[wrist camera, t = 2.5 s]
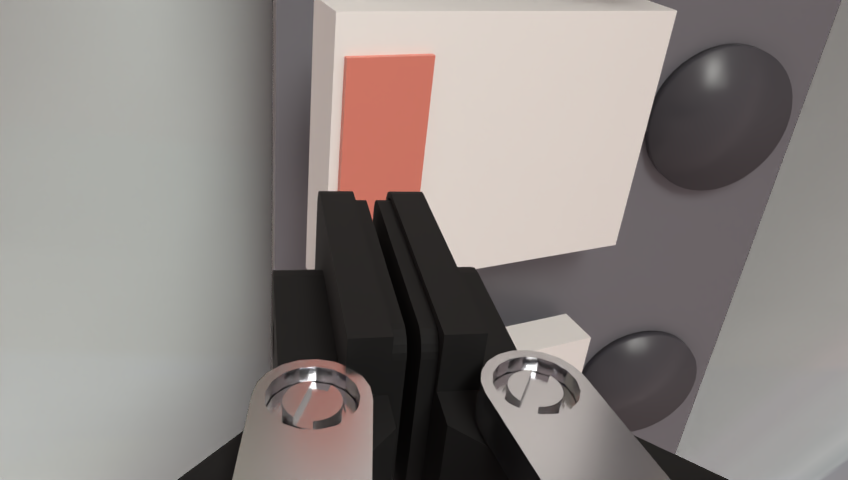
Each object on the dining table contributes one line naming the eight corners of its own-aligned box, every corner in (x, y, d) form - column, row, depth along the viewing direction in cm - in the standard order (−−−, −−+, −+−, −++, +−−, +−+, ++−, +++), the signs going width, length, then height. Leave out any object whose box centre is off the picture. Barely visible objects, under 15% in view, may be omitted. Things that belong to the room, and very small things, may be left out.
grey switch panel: (985, -795, 15) (1216, -984, 11) (597, 477, 33) (640, 562, 29) (278, -1049, 12) (287, -1417, 8) (270, 503, 30) (272, 602, 26)
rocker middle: (617, -11, 18) (681, 12, 16) (568, 208, 21) (618, 247, 19) (299, -15, 15) (338, 12, 13) (293, 247, 18) (325, 298, 16)
